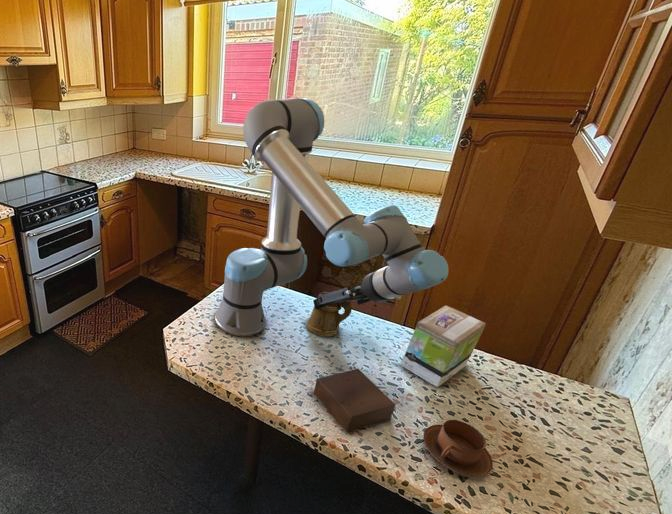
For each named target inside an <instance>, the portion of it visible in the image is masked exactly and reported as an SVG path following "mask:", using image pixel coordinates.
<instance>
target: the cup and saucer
mask: <svg viewBox="0 0 672 514" xmlns="http://www.w3.org/2000/svg"><path fill="white" fill-rule="evenodd" d="M423 442H424V445H425V447H426V449H427V451H428V452H429V453H430V455H431V456H432V457H433V458H434V459H435V460H436V461H437V462H439V463H440V464H441V465H443V466H444V467H446V468H447V469H449V470H451V471H453V472H454V473H457V474H460V475H463V476H467V477H470V478H471V477H472V478H481V477H485V476H486V475H488V474H490V473H491V472H492V471H493V468H494V462H493V458H492V455H491V454H490V452H489V450H488V449H487V440H486V438H485V436H484V434H482V432H480V431H479V430H478V429H477V428H476V427H474V426H473V425H471V424H470V423H466V422H465V421H462V420H458V419H447V420H446V421H445V422H443V423H442V424H432V425H430V426H428V427H427V428H426V429H425V430H424V432H423Z"/></svg>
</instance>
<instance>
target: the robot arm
mask: <svg viewBox="0 0 672 514" xmlns="http://www.w3.org/2000/svg"><path fill="white" fill-rule="evenodd" d="M242 126H243V127H242V131H243V132H242V133H243V134H242V135H243V139H244V142H245V144H246V146H247V148H248V150H249V152H250V153H251V155H252V156H253V157H254V158H255V159H256V160H257V162H258V161H259V162H263V163H264V164H265V165H266V166H267V168H268V169H269V170H270V171H271V177H270V178H271V179H270V180H271V181H270V191H269V203H268V206H269V207H268V215H267V216H268V218H267V231H266V236H265V237H263V239H261V242H260V249H259V248H255V247H249V248H247V247H243V248H238V249H236V250H233V251H232V252H231V253H230V254H229V255H228V256H227V258H226V263H225V267H224V282H223V293H222V299H221V301H220V303H219V305H218V307H217V309H216V311H215V315H214V320H215V324H216V326H217V327H218V328H219V329H220V330H221V331H223V332H224V333H226V334H229V335H232V336H235V337H251V336H256V335H258V334H260V333H261V332H262V331H263V330H264V328H265V325H266V318H267V313H268V312H266V313H265V312H264V307H263V295H264V292H265V291H268V290H270V289H273V288H276V287H279V286H282V285H285V284H290V283H292V282H294V281H295V280H297V279H300V278H301V277H302V276H303V275H304V273H305V272H306V271H307V267H308V257H307V254H305V249H304V248H303V246H302V242H301V241H300V240H299V239H298V229H299V221H300V220H299V219H300V209H301V210H302V211H303V212H304V214H306V216H307V217H308V218H309V219H310V221H311V222H312V223H313V224H314V226H315V227H316V228H317V230H318V231H319V232H320V233H321V235H323V237H324V238H325V240H324V243H323V244H324V245H323V250H324V251H325V256H326V258H327V259H328V260H329V262H330V263H332V264H333V265H335V266H337V267H343V268H345V267H350V266H355V265H359V264H362V263H364V262H366V261H368V260H371V259H373V258H376V257H379V256H383V259H384V260H385V262H386V263H387V265H386V266H384V267H382V268H379V269H377V270H376V271H373V272H370V273H368V274H367V275H365V276H364V278H363V279H362V281H361V283H358V284H357V285H353V286H346V287H344V288H341V289H338V290H333V291H329V292H330V293H326V294H325V293H322V295H319V294H318V295H319V296H318V295H317V297H318V298H317V297H316V298H317V299H316V298H315V299H313V304H314V306H315V310H316V309H320V308H323V307H325V306H328V305H330V304H331V303H336V302H341V301H345V300H351V301H356V302H357V306H360V305H364V304H366V303H369V302H374V303H381V304H382V303H385V302H387V301H391V300H393V299H396V300H398V301H400V300H401V299H402V297H403V296H407V295H410V294H414V293H418V292H420V291H425V290H427V289H430V288H432V287H435V286H438V285H440V284H442V283H443V282H444V281H446V280H447V278H448V276H449V271H450V270H449V265H448V261H447V260H446V259H445V257H444V256H442V255H440V253H439V252H437V251H436V250H432V249H425V248H424V247H423V246H422V244H421V242H420V241H419V239H418V237H417V236H416V233H415V232H414V230H413V229H412V226H411V225H410V223H409V221H408V219H407V217H406V216H405V215H404V214H403V212H402V210H401V209H400V208H399V206H397V205H395V204H391V205H387V206H384V207H381V208H379V209H377V210H375V211H373V212H371V213H369V214H367V216H365V217H364V220H363V221H364V223H362V222H361V220H360V219H359V218H358V217H357V216H356V215H355V214H354V212H353V211H352V210H351V209H350V208H349V207H348V205H346V203H345V202H344V201H343V200H342V199H341V198H340V196H339V195H338V194H337V193H336V192H335V191H334V189H333V188H332V187H331V186H330V184H328V182H326V180H325V179H324V178H323V177H322V176H321V174H320V173H319V172H318V171H317V170H316V168H314V166H313V165H312V164H311V163H310V162H309V161H308V160H307V156H309V155H310V154H311V153H312V152H313V145H314V142H315V141H317V140H318V139H319V136H321V135H322V133H323V131H324V128H325V115H324V111H323V109H322V108H321V107H320V106H319V104H318V103H317V101H315V100H313V99H310V98H306V97H305V98H304V97H293V98H292V97H291V98H281V99H266V100H262V101H260V102H258V103H256V104H255V105H254V106H253V107H251V109H249V111H248V112H247V114H246V116H245V119H244V121H243V125H242ZM353 294H355V295H356V298H354V296H353ZM314 306H313V307H314Z"/></svg>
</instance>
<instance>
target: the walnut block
mask: <svg viewBox="0 0 672 514" xmlns="http://www.w3.org/2000/svg"><path fill="white" fill-rule="evenodd" d="M313 395H314V396H315V397H316V398H317V400H318V401H319V402H320V403H321V404H322V405H323V407H324V408H325V409H326V410H327V411H328V413H329V414H330V415H331V416H332V417H333V418H334V419H335V421H336V422H337V423H338V424H339V426H340V427H341V428H342V429H343V430H344V431H345V433H351V432H354V431H357V430H361V429H364V428H368V427H371V426H374V425H379V424H382V423H385V422H388V421H390V420H391V419H392V416H393V414H394V411H395V408H396V406H397V404H396V403H395V402H394V401H393V400H392V399H391V398H390V397H389V396H388V395H387V394H385V392H383V391H382V390H381V389H380V388H379V387H378V386H377V385H376V384H375V382H373V381H372V380H371V379H370V378H369V377H368V376H367V375H365V373H363V372H362V371H361V369H360V368H354V369H351V370H350V369H349V370H346V371H341V372H339V373H333V374H330V375H326V376H321V377H318V378H316V381H315V386H314V389H313Z"/></svg>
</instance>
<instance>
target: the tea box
mask: <svg viewBox="0 0 672 514" xmlns="http://www.w3.org/2000/svg"><path fill="white" fill-rule="evenodd" d="M486 325H487V324H486V322H484V321H482V320H479V319H477V318H475V317H473V316H471V315H468V314H466V313H464V312H462V311H460V310H458V309H456V308H453V307H451V306H449V305H444V306H442V307H441V308H439V309H438V310H436V311H434V312H432V313H431V314H429V315H428V316H426V317H424V318H423V319H421V320H419V321H418V322H417V323H416V326H415V329H414V330H413V334H412V336H411V338H410V341H409V343H408V346H407V348H406V350H405V353H404V355H403V358H402V361H401V363H400V366H401V367H403V368H405V369H406V370H407V371H409V372H411V373H412V374H415V375H416V376H417V377H419V378H421V379H423V380H424V381H426V382H428V384H431V385H433V386H434V387H436V388H438V387H440V386H441V385H443V384H444V383H445V382H447V381H448V380H450V379H451V378H452V377H453V376H454V375H456V374H457V373H459V372H460V371H461V370H463V369H464V368H465V367H466V366H467V364H468V362H469V361H470V357H471V356H472V354H473V352H474V350H475V348H476V345H477V344H478V342H479V339H480V338H481V335H482V334H483V332H484V330H485V328H486Z"/></svg>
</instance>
